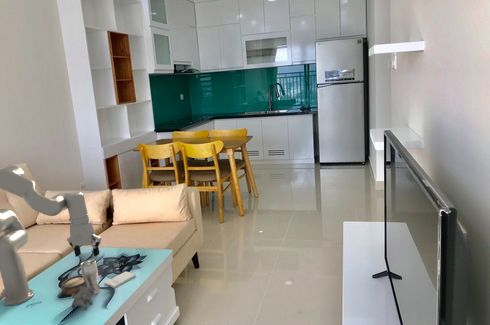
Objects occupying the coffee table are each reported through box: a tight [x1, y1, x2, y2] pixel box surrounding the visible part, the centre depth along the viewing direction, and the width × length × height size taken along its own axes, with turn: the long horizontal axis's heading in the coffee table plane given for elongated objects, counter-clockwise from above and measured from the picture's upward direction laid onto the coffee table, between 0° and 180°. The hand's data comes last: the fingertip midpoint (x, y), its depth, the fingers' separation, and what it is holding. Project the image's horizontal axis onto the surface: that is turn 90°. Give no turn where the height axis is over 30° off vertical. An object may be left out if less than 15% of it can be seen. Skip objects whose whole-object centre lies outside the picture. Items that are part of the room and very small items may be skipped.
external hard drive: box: [104, 271, 137, 289], centre depth 197 cm, size 2×8×12 cm
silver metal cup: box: [80, 259, 101, 297], centre depth 186 cm, size 7×7×15 cm
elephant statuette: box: [71, 286, 95, 311], centre depth 178 cm, size 9×12×8 cm
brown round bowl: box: [60, 274, 86, 296], centre depth 193 cm, size 13×13×4 cm
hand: (87, 255), depth 184 cm, fingers open, 9 cm apart
